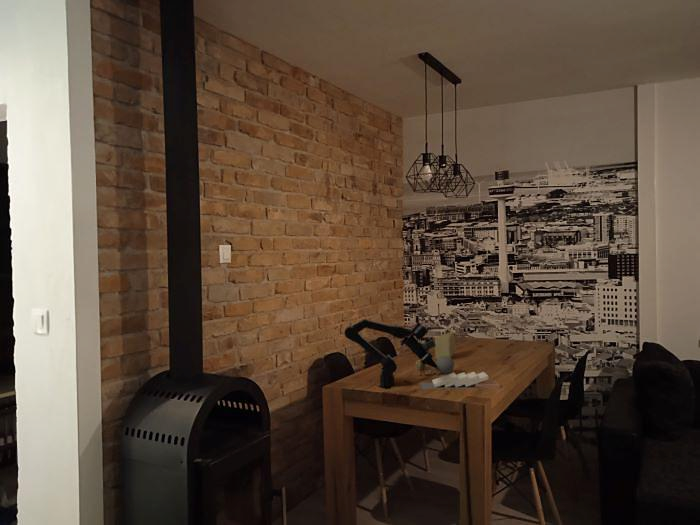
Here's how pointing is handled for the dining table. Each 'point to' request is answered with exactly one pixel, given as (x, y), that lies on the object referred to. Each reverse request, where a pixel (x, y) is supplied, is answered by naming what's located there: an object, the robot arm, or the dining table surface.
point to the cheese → (445, 345)
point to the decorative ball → (445, 364)
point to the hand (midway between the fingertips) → (436, 367)
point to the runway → (431, 386)
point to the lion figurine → (425, 368)
